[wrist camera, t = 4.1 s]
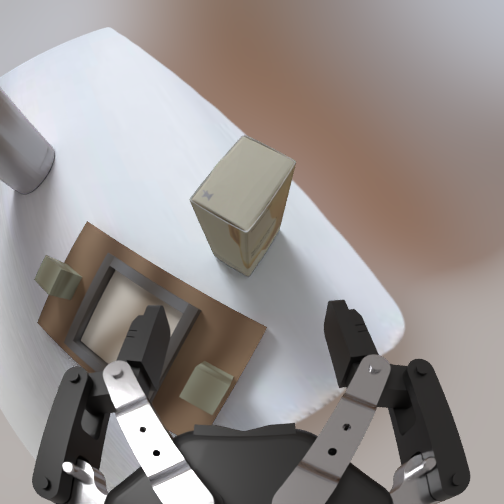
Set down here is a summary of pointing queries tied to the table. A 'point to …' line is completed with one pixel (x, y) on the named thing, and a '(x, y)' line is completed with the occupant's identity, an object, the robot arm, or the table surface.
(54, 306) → the build base
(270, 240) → the skincare box
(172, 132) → the table surface
